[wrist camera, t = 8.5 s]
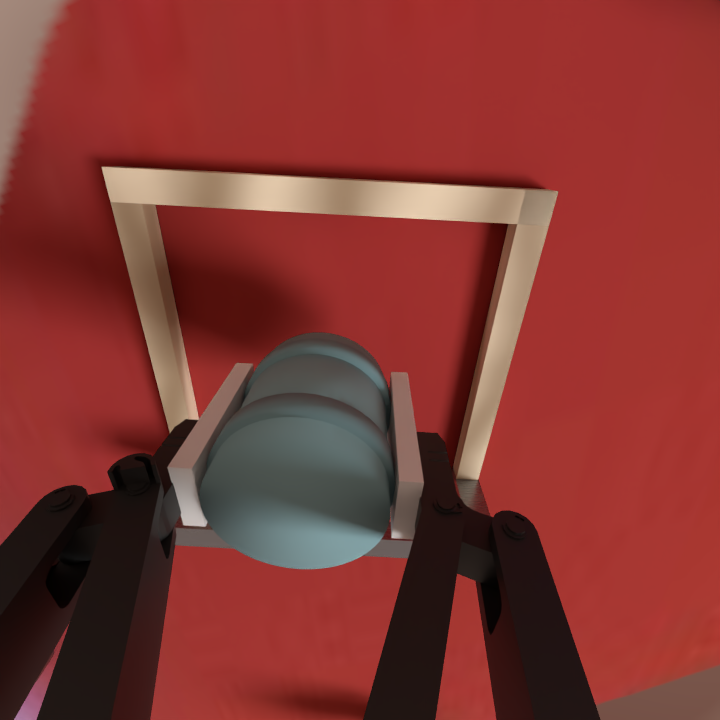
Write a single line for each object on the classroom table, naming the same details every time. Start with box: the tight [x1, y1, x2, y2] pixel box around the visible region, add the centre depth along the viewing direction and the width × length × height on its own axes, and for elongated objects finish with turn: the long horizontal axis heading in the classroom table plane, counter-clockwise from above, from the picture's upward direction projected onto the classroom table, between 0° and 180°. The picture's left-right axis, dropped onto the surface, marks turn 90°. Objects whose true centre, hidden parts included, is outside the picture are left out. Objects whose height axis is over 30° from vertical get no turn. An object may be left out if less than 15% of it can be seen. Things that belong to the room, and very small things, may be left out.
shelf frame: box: [102, 166, 558, 480], centre depth 22 cm, size 21×20×1 cm
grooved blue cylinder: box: [200, 333, 395, 569], centre depth 15 cm, size 6×6×7 cm
